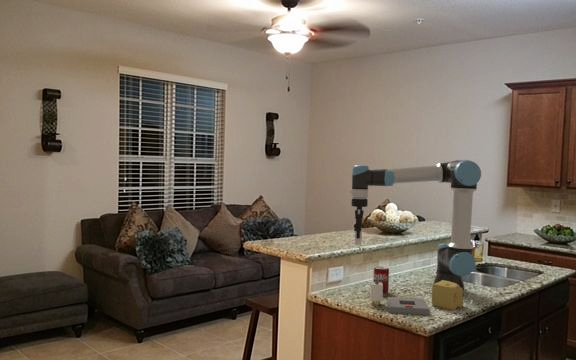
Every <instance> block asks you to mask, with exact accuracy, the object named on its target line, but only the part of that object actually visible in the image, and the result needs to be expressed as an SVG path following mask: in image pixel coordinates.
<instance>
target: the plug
mask: <svg viewBox="0 0 576 360" xmlns="http://www.w3.org/2000/svg"><path fill="white" fill-rule="evenodd" d="M383 296H384V294H383V284H382V283H380V282H379V279H375V282H374V281H371V282H370V301H371V304H373V305H374V306H378V305H381V302H383V299H384V297H383Z"/></svg>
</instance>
